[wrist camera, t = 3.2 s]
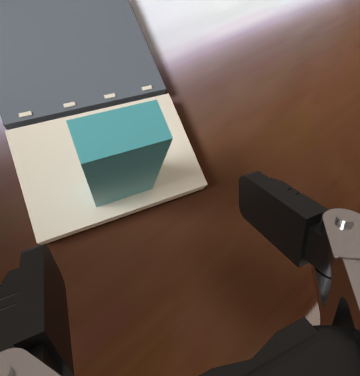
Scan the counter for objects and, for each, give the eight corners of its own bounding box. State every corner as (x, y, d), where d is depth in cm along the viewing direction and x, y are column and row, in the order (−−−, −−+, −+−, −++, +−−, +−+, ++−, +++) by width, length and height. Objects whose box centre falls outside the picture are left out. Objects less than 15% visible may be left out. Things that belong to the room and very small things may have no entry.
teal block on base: (42, 245, 18) (-27, 222, 10) (11, 138, 20) (-73, 36, 11) (202, 188, 22) (258, 135, 13) (166, 101, 23) (194, 2, 15)
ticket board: (10, 133, 20) (2, 124, 19) (-34, -17, 23) (-42, -33, 21) (164, 97, 23) (166, 88, 22) (110, -29, 26) (110, -44, 25)
